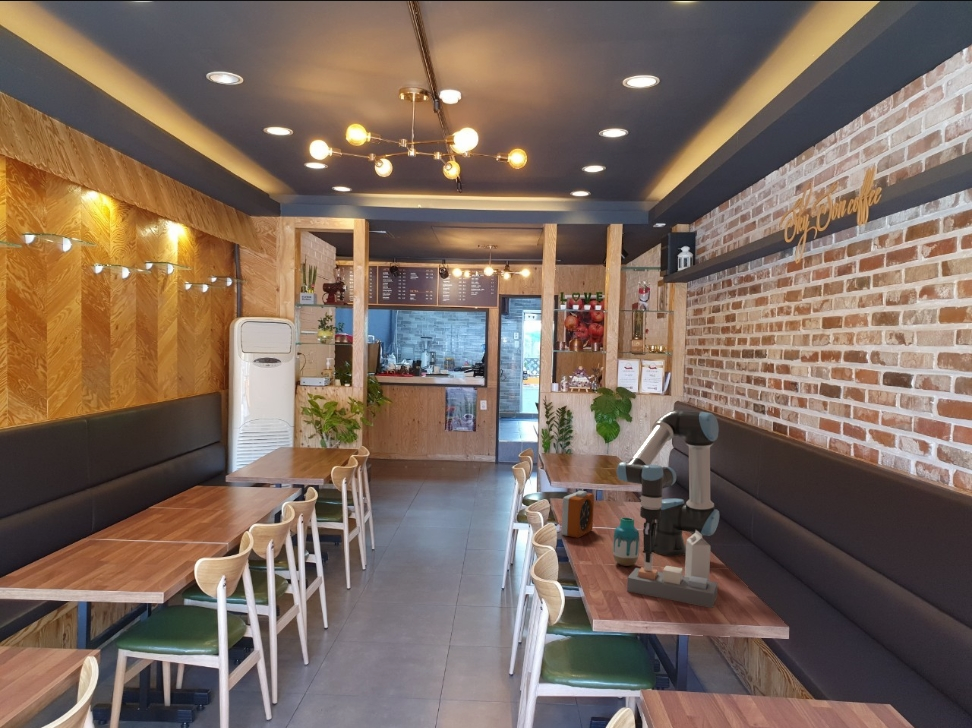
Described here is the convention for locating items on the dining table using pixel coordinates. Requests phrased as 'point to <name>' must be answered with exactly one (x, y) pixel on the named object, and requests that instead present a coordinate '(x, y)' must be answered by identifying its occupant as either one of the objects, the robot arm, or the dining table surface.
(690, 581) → the key slate
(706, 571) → the milk carton
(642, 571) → the key rust
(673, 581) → the key ivory
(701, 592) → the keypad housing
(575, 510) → the alarm clock
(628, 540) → the vase
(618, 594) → the dining table surface
